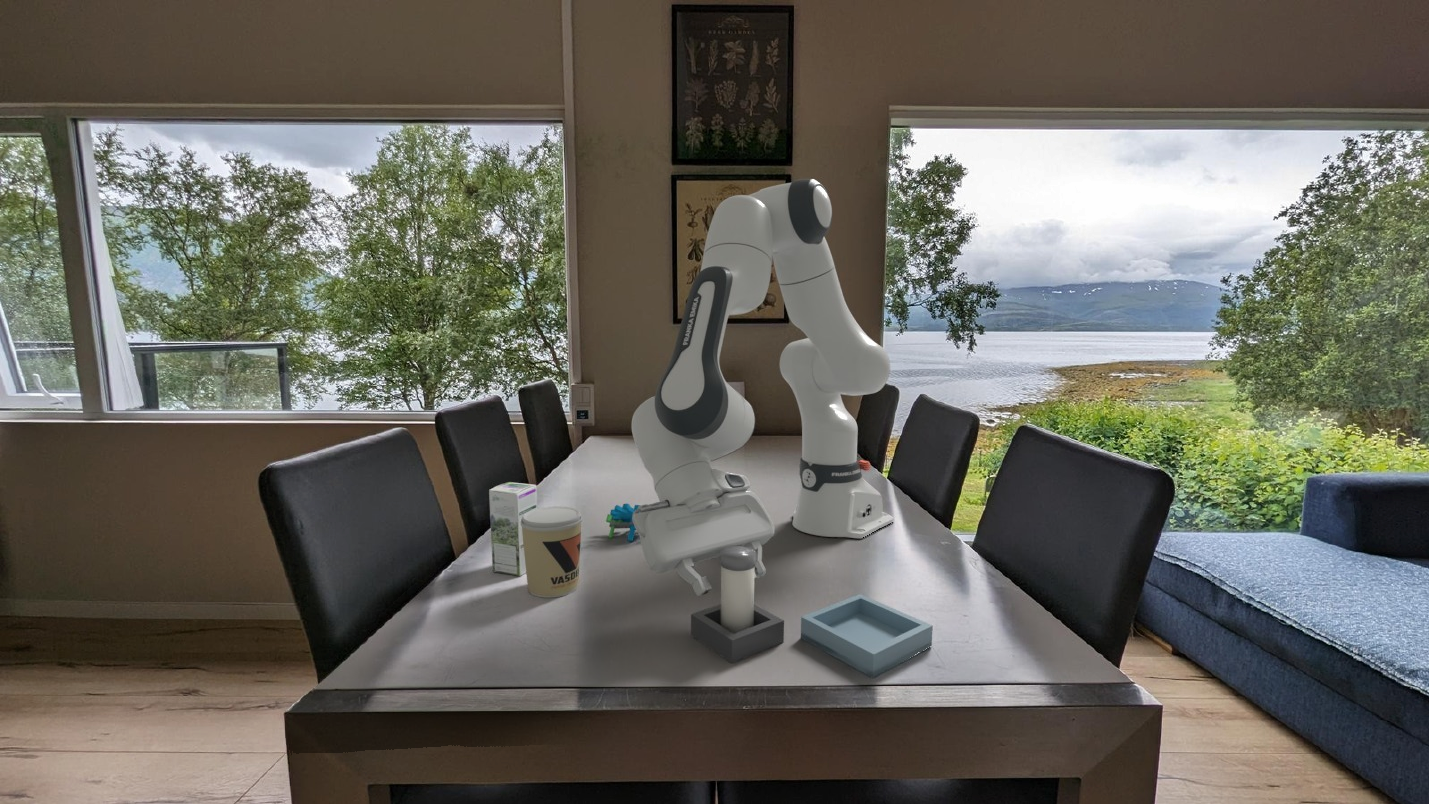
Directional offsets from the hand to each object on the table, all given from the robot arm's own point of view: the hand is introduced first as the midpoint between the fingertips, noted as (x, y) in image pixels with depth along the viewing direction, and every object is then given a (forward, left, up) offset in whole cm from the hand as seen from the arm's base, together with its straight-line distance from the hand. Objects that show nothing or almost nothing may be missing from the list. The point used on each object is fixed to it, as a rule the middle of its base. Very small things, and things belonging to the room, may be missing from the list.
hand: (733, 584), depth 84 cm
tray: (-13, +12, -7) cm, 19 cm away
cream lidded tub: (+13, -29, -8) cm, 33 cm away
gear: (-10, -43, -8) cm, 45 cm away
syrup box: (+15, -40, -8) cm, 44 cm away
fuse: (0, +1, -7) cm, 8 cm away
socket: (0, +1, -7) cm, 8 cm away
